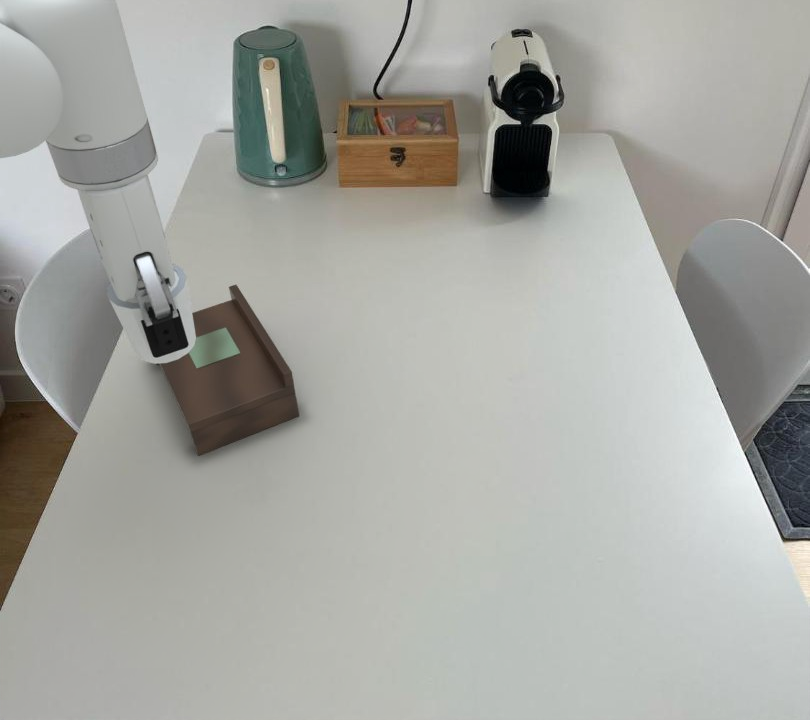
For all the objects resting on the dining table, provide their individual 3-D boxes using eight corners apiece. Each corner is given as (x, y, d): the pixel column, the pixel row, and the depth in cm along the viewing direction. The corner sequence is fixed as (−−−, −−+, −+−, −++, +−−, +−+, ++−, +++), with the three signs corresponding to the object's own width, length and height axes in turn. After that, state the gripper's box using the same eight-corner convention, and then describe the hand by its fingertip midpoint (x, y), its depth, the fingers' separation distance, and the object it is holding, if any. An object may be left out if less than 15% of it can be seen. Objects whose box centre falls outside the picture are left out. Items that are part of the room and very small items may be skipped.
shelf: (198, 456, 88) (184, 411, 84) (154, 359, 100) (139, 315, 95) (299, 416, 92) (291, 371, 88) (245, 327, 104) (236, 284, 99)
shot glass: (218, 333, 76) (202, 273, 71) (166, 378, 72) (146, 317, 67) (164, 311, 79) (146, 251, 74) (111, 352, 75) (89, 292, 70)
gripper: (35, 115, 66) (98, 288, 78) (75, 216, 55) (142, 400, 67) (126, 94, 69) (174, 265, 81) (183, 187, 57) (229, 370, 69)
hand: (159, 325), depth 74 cm, fingers closed on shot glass, 6 cm apart
